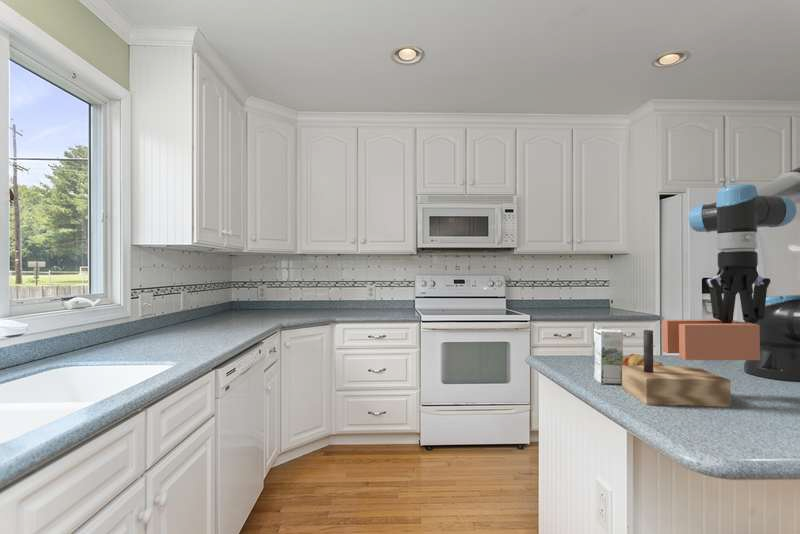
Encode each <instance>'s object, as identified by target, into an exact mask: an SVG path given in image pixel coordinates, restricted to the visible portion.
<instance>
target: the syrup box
mask: <svg viewBox="0 0 800 534" xmlns="http://www.w3.org/2000/svg"><path fill="white" fill-rule="evenodd" d="M623 357H624V332H623V331H622V330H620V329H618V328H614V327H613V328H612V327H611V328H601V327H599V328H596V327H595V328H593V379H594V380H595V381H596V382H598V383H599V384H601V385H622V365H623Z"/></svg>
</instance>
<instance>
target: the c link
mask: <svg viewBox="0 0 800 534" xmlns="http://www.w3.org/2000/svg"><path fill="white" fill-rule="evenodd" d="M661 322H662V323H661V325H662V326H661V327H662V329H661V331H662V332H661V333H662V352H663V353H666V354H678V355H679V356H678V357H679V359H682V360H685V361H746V360H760V325H757V324H751V323H746V322H745V321H743V322H740V321H739V320H734V319H733V321H732V322H734V323H736V324H722V321H720V320H718V319H661Z"/></svg>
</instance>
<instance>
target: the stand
mask: <svg viewBox="0 0 800 534" xmlns="http://www.w3.org/2000/svg"><path fill="white" fill-rule="evenodd" d="M643 356H644V366H625V365H622V384H621V389H622V390H623V391H625V392H626V393H627V394H629V395H631V396H633V397H634V398H635V399H637V400H638V401H640V402H642V403H643V404H644V405H646V406H647V405H648V406H653V405H654V406H677V405H690V406H689V407H692V406H693V407H716V406H718V407H723V408H725V407H726V408H731V406H732V405H731V403H732V402H731V401H732V400H731V399H732V398H731V397H732V396H731V388H732V387H731V386H732V384H731V379H729V378H727V377H723V376H722V375H718V374H715V373H714V372H710V371H707V370H705V369H703V368H700V367H697V366H681V365H680V366H678V365H677V366H675V365H674V366H673V365H669V366H668V365H667V366H666V365H663V366H653V362H654V330H651V329H644V330H643ZM718 407H717V408H718Z"/></svg>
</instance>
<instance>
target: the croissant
mask: <svg viewBox="0 0 800 534" xmlns="http://www.w3.org/2000/svg"><path fill="white" fill-rule="evenodd" d="M623 365H625V366H644V355H640V354H638V353H637V354H636V353H631V354H629V355H628V356H627V357H625V356H623ZM653 366H664V365H663V363H662V362H658V361H653Z"/></svg>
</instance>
